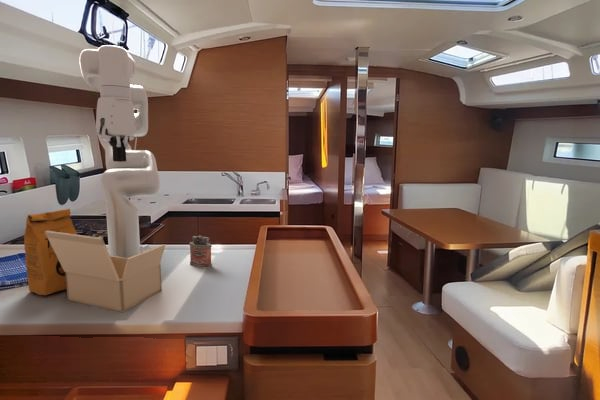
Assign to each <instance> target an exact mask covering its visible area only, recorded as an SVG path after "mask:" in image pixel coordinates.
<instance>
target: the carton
mask: <svg viewBox="0 0 600 400" xmlns="http://www.w3.org/2000/svg"><path fill="white" fill-rule="evenodd" d="M98 237H99V238H103V236H102V235H100V236H98ZM165 247H166V244H160V245H158V246H156V247H154V248H153V247H152V248H149V249H148V250H146V251H143V252H142V253H140V254H137V255H135V256H132V257H129V258H124V257H117V256H110V257H111V260H112V262H113V265H114V267H115V270H116V272H117V274H118V277H119V279H120V280H119V281H114V280H109V279H103V278H97V277H92V276H86V275H81V274H75V273H70V272H65V275H66V286H67V289H66V294H67V296H66V297H67V301H69V302H72V303H73V302H74V303H78V304H83V305H86V306H87V305H88V306H92V307H97V308H101V309H106V310H110V311H115V312H121V313H124V312H126V311H128V310H130V309H131V308H133V307H135V306H137V305H138V304H140V303H142V302H144V301H146V300H148V299H149V298H151V297H153V296H155V295H157V294H159V293H161V292H162V289H163V288H162V269H161V267H162V266H161V261H162V259H163V255H164V250H165Z"/></svg>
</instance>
